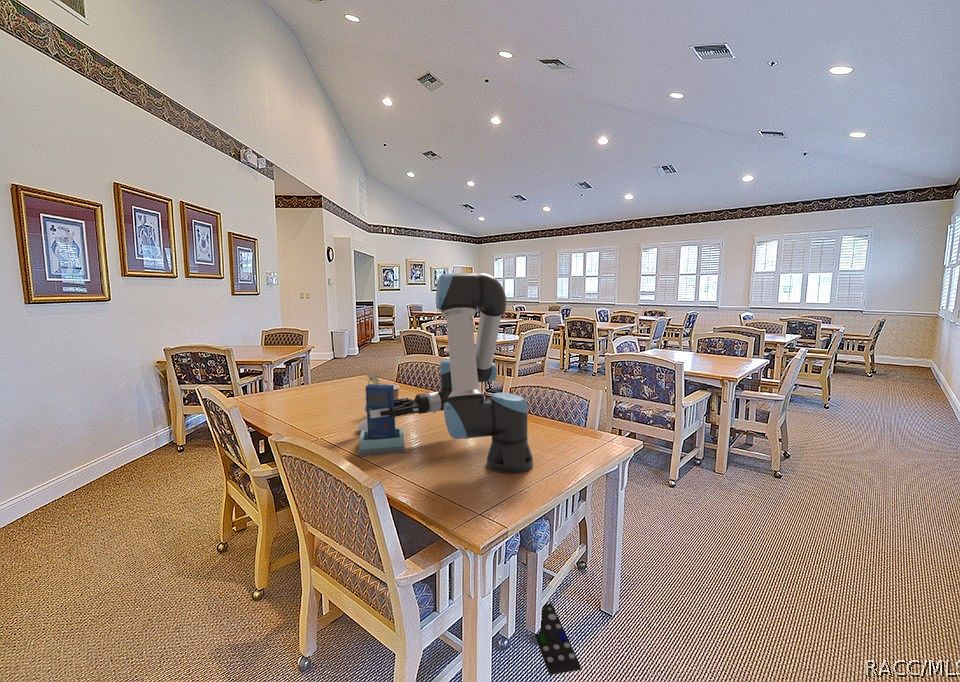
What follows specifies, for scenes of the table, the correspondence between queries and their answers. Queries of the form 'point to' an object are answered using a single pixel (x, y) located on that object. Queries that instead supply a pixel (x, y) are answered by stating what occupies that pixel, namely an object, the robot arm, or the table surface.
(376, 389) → the electronic device
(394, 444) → the charging dock
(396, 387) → the coffee cup
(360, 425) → the flower in vase
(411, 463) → the table surface
